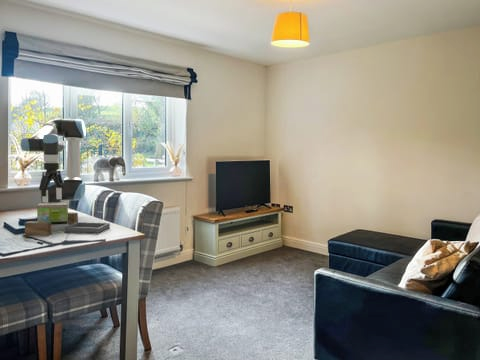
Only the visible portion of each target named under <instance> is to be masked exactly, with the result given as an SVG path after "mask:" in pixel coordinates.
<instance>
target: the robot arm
mask: <svg viewBox="0 0 480 360" xmlns="http://www.w3.org/2000/svg"><path fill="white" fill-rule="evenodd" d="M86 135H87V128H86V124H85V123H84V120H83V119H79V118H55V119H51V120H49V121H47V122H45V123H44V124H42V126H41V128H40V129H39V130H38V131H37V132H35V133H34V134H33V135H31V137H22V138H21V140H20V149H21V151H23V152H29V153H30V152H43V162H44V164H43V169H44V170H46V171H42V176H41V180H40V182H39V188H38V190H39V191H40V203H59V202H62V201H81V200H82V199H83V198H84V197H85V194H86V183H85V182H83V179H82V178H81V148H82V147H81V143H82V141H83V140H84V138H85V137H86ZM59 137H63V139H64V140H65V141H64V140H63V139H60V138H59ZM65 142H66V143H65ZM65 148H66V153H65V154H66V155H65V156H66V158H65V159H66V160H65V171H66V172H65V178H64V179H63V178H62V174H61V170H60V163H59V162H60V154H59V152H62V151H64V150H65Z"/></svg>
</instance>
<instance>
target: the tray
mask: <svg viewBox="0 0 480 360" xmlns="http://www.w3.org/2000/svg"><path fill="white" fill-rule="evenodd" d="M110 228H111V224H110V222H86V221H85V222H80V221H78V222H77V223H74V224H72V225H68V226H66V227H65V230H64V233H65V234H90V235H91V234H92V235H94V234H95V235H99V234H102V233H103V231H104V232H106V231H107V230H109V229H110ZM101 232H102V233H101Z"/></svg>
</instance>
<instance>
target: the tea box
mask: <svg viewBox="0 0 480 360" xmlns="http://www.w3.org/2000/svg"><path fill="white" fill-rule="evenodd" d="M68 208H69V204H68V202H66V201H65V202H62V201H61V202H59V203H41V202H39V203H38V204H37V205H36V209H37V212H36V213H37V216H36V217H37V221H44V222H51V227H52V231H53V232H57V231H65V227H66V226H69V225H68V212H69V211H68V210H69V209H68Z"/></svg>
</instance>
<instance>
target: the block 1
mask: <svg viewBox="0 0 480 360" xmlns="http://www.w3.org/2000/svg"><path fill="white" fill-rule="evenodd" d="M52 233H53V232H52V227H51V222H44V221H33V220H31V221H29V220H28V221H25V222H24V236H25V237H49V236H52Z"/></svg>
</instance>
